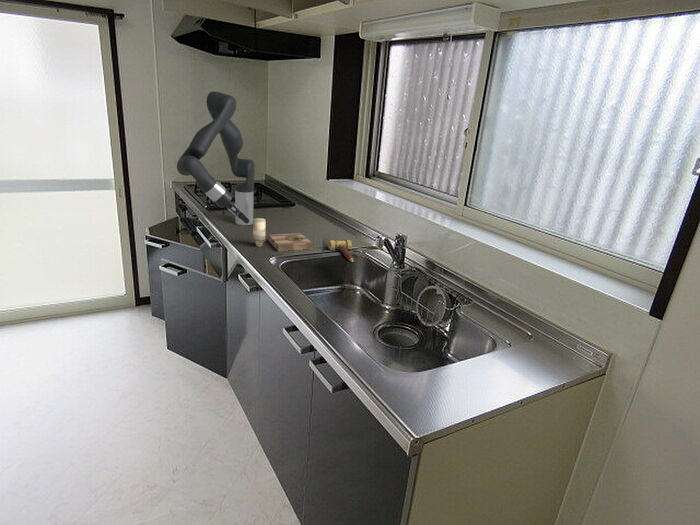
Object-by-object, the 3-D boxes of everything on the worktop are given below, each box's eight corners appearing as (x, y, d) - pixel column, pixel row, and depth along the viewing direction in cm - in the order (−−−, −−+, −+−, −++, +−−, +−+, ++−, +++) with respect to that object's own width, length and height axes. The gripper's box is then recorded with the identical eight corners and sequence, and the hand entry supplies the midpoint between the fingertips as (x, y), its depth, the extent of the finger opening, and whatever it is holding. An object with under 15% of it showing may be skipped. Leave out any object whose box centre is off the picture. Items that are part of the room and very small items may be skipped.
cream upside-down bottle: (251, 243, 204) (251, 218, 200) (263, 243, 207) (263, 218, 202) (254, 247, 199) (254, 221, 195) (266, 247, 202) (267, 221, 198)
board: (268, 240, 211) (268, 234, 210) (300, 239, 217) (300, 233, 216) (278, 251, 197) (278, 245, 196) (312, 249, 204) (312, 243, 203)
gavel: (364, 256, 192) (342, 256, 189) (363, 265, 194) (341, 266, 190) (349, 238, 210) (328, 238, 207) (348, 247, 212) (327, 248, 208)
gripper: (228, 191, 182) (256, 217, 191) (222, 184, 194) (248, 209, 203) (215, 204, 181) (243, 230, 190) (209, 196, 193) (236, 221, 202)
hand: (245, 219), depth 196 cm, fingers open, 8 cm apart
